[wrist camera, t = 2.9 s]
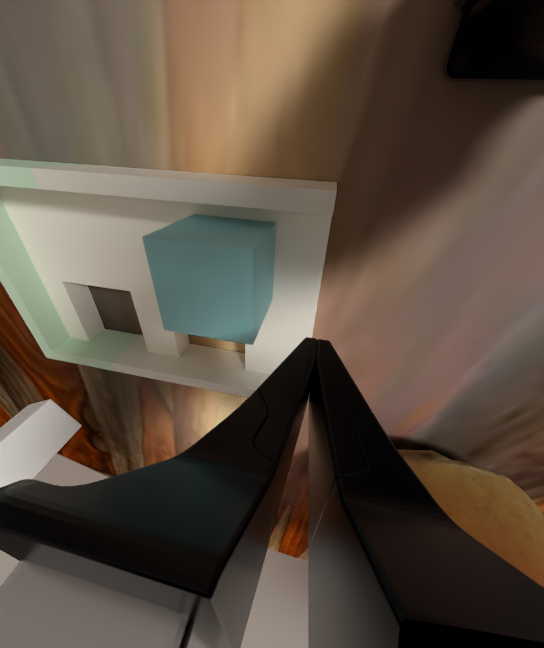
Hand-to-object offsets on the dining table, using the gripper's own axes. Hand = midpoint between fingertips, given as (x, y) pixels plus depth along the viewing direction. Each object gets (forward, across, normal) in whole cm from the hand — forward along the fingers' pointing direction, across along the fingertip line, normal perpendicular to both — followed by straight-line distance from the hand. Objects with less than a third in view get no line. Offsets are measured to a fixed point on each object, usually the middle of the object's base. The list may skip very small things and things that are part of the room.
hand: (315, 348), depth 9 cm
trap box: (+10, +11, +4) cm, 15 cm away
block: (+8, +6, 0) cm, 10 cm away
